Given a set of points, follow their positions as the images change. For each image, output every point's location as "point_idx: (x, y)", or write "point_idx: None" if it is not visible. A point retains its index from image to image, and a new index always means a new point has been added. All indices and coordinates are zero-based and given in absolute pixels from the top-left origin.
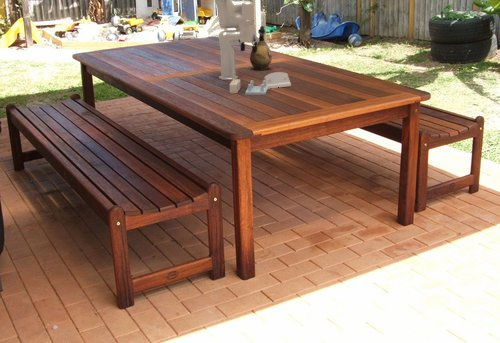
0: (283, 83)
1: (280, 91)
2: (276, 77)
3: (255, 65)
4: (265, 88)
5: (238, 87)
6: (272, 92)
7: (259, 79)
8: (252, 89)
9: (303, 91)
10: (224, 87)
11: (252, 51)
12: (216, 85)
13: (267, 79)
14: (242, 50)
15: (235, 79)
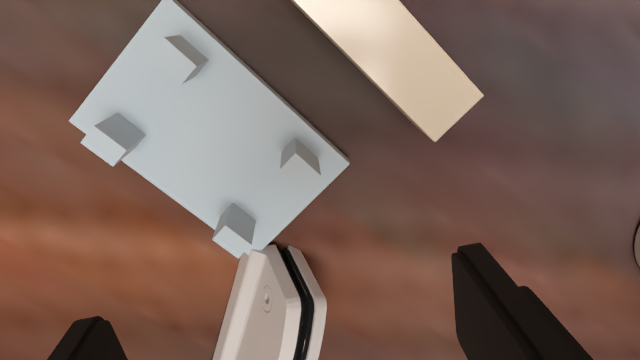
0: (227, 352)
1: (125, 256)
2: (258, 357)
3: None
4: (195, 201)
5: (336, 45)
6: (126, 202)
7: None
8: (224, 107)
9: (47, 352)
10: (510, 27)
11: (80, 330)
12: (615, 21)
13: (275, 293)
14: (457, 279)
15: (459, 104)
